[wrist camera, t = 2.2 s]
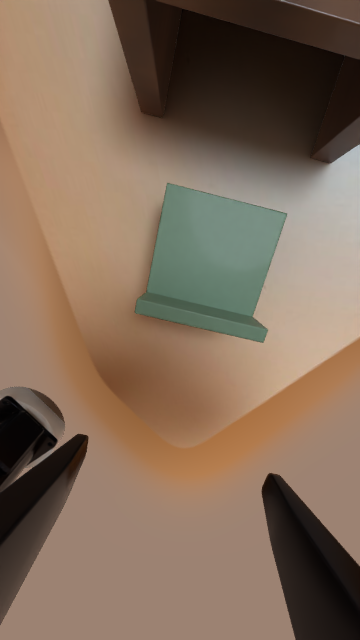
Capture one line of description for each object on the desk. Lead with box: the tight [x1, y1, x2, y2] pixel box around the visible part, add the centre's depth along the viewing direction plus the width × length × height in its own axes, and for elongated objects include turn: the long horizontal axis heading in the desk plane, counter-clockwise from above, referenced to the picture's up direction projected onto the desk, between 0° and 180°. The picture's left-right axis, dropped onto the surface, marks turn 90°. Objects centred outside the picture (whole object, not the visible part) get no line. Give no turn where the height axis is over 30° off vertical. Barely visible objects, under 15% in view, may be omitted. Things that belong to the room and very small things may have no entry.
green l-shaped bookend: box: [135, 183, 287, 343], centre depth 13 cm, size 7×7×6 cm
